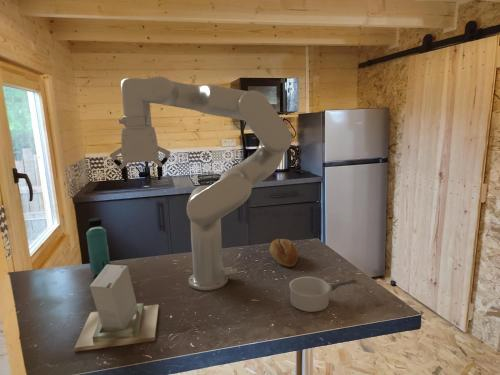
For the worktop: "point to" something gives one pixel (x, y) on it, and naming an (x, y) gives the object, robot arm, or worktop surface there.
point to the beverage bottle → (97, 246)
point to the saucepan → (312, 293)
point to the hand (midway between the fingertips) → (143, 180)
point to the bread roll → (284, 252)
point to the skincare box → (114, 297)
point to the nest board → (136, 332)
